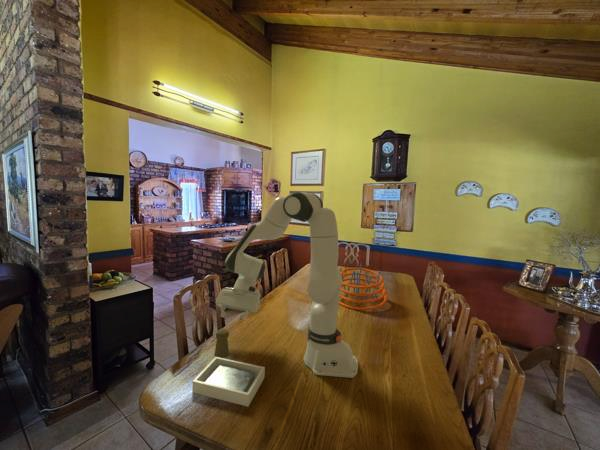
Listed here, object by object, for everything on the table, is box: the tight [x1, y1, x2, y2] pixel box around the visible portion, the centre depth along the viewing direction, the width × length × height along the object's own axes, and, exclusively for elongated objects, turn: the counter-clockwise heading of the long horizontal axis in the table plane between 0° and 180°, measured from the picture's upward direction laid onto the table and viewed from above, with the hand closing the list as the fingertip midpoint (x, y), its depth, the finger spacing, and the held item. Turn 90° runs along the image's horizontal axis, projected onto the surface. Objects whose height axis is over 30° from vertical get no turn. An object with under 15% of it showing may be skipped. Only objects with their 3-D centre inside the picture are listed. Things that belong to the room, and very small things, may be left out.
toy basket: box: [339, 263, 388, 311], centre depth 175 cm, size 34×35×24 cm
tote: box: [192, 356, 266, 408], centre depth 90 cm, size 20×14×5 cm
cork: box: [214, 328, 230, 359], centre depth 107 cm, size 6×6×11 cm
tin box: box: [206, 365, 255, 392], centre depth 90 cm, size 14×10×2 cm
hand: (231, 318), depth 114 cm, fingers open, 8 cm apart
